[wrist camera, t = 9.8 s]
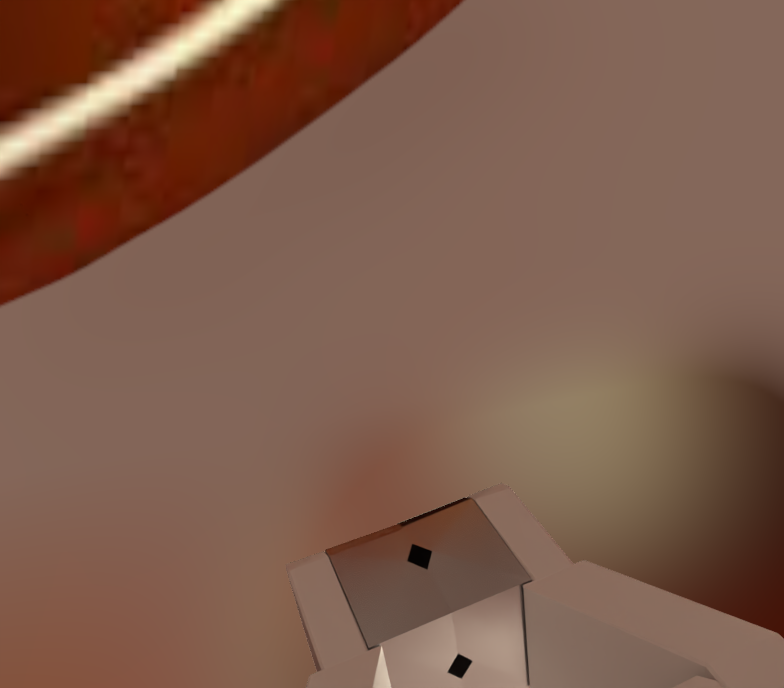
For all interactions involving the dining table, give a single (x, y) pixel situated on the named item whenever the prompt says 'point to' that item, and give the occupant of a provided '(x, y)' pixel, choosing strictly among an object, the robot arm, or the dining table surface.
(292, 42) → the dining table surface
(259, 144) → the dining table surface
